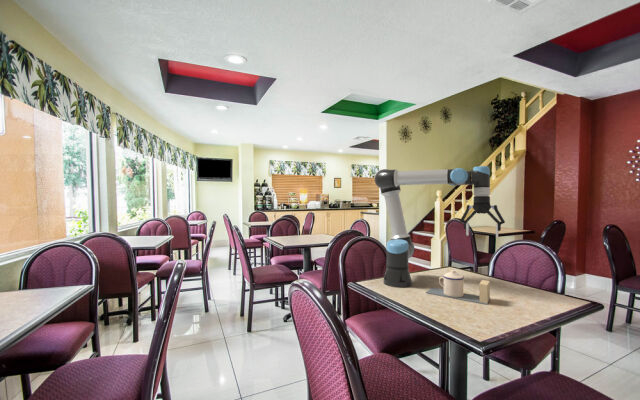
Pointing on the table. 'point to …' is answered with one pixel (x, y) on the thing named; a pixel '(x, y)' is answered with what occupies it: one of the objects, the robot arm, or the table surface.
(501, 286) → the table surface
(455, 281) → the teacup with lid
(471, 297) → the runner
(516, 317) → the table surface
